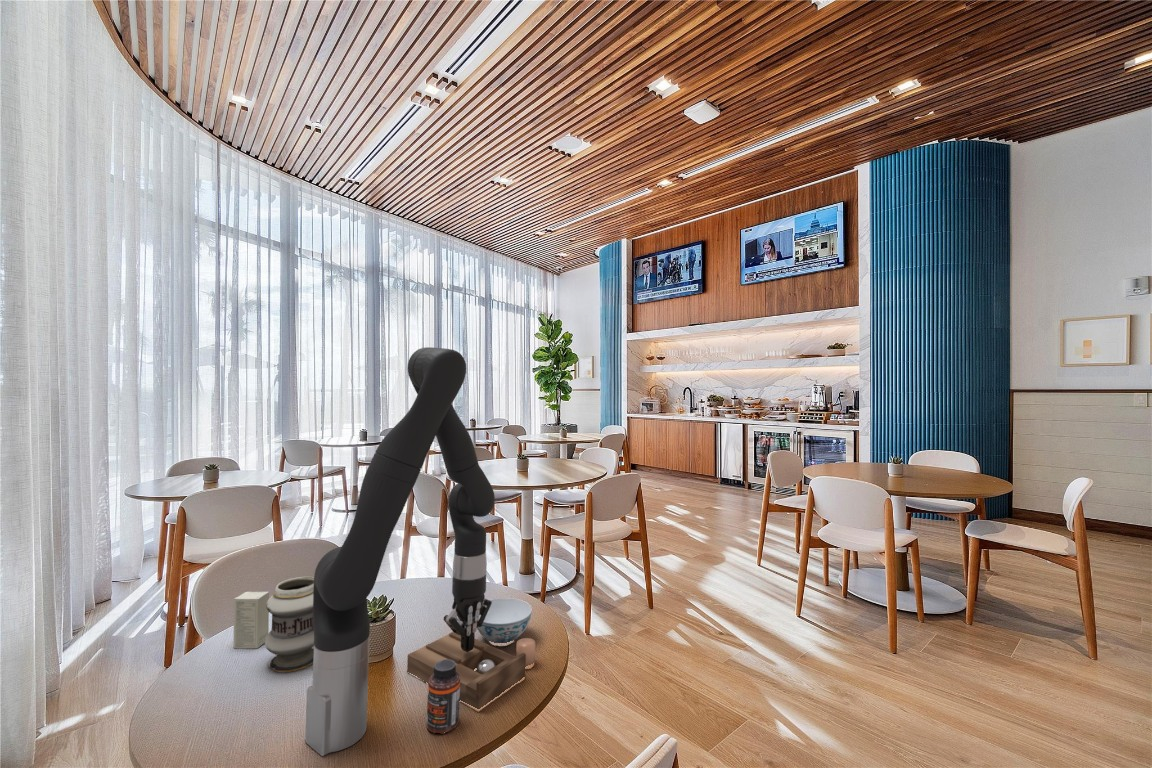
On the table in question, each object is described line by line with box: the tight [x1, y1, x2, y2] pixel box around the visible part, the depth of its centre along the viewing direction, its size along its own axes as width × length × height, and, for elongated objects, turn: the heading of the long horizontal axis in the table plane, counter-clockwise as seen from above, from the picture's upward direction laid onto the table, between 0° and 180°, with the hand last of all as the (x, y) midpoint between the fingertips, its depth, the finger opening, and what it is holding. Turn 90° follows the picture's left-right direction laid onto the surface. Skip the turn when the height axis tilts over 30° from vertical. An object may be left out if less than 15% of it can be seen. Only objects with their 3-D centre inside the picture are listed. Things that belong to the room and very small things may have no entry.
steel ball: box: [476, 659, 496, 674], centre depth 105 cm, size 4×4×4 cm
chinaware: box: [477, 597, 533, 643], centre depth 122 cm, size 15×15×8 cm
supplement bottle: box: [426, 659, 460, 734], centre depth 90 cm, size 6×6×11 cm
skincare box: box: [233, 591, 270, 650], centre depth 118 cm, size 6×4×12 cm
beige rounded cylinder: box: [515, 637, 536, 666], centre depth 111 cm, size 4×4×5 cm
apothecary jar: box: [264, 576, 314, 673], centre depth 111 cm, size 12×12×18 cm
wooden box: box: [406, 631, 526, 709], centre depth 106 cm, size 14×23×6 cm, turn 55°
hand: (467, 649), depth 108 cm, fingers closed
